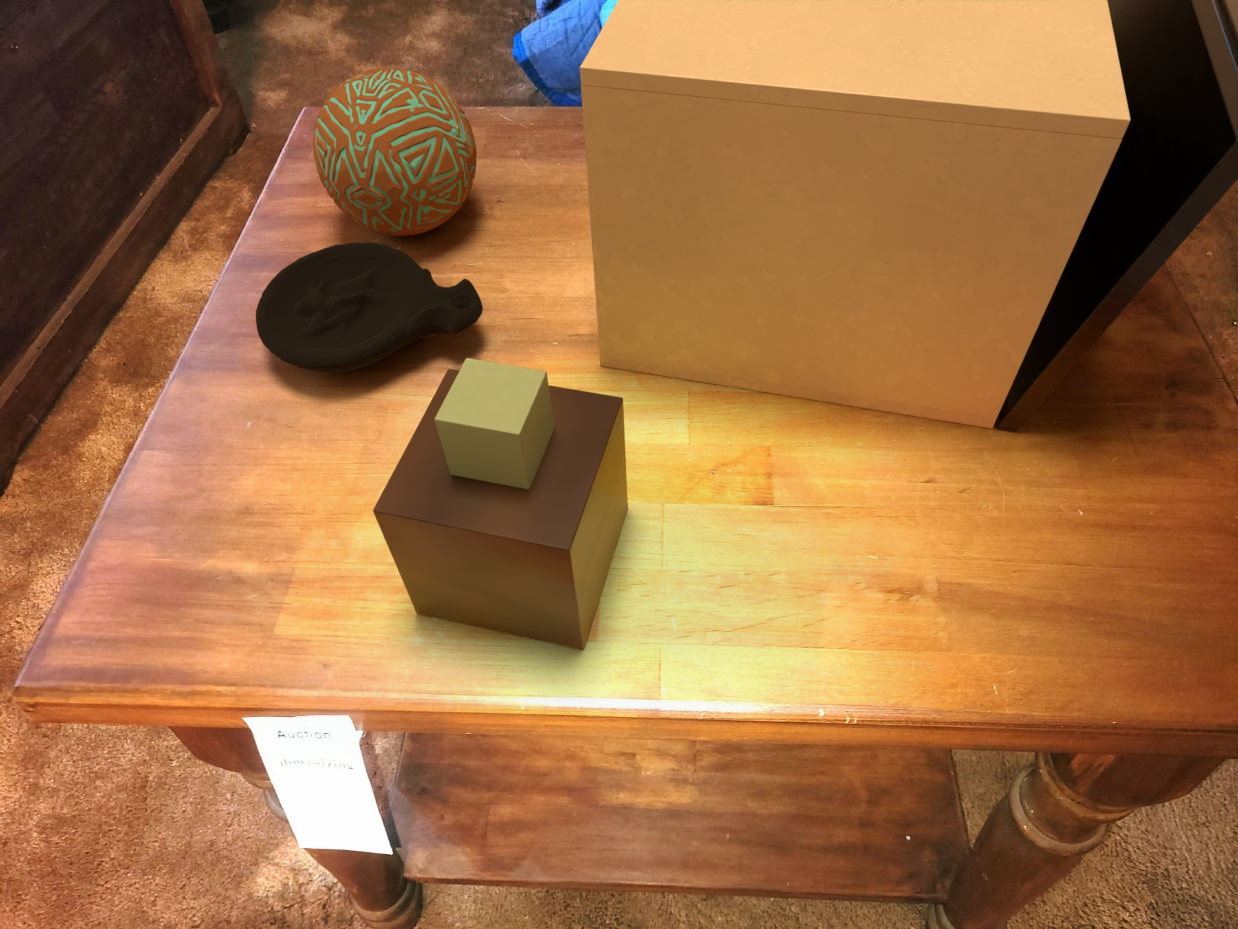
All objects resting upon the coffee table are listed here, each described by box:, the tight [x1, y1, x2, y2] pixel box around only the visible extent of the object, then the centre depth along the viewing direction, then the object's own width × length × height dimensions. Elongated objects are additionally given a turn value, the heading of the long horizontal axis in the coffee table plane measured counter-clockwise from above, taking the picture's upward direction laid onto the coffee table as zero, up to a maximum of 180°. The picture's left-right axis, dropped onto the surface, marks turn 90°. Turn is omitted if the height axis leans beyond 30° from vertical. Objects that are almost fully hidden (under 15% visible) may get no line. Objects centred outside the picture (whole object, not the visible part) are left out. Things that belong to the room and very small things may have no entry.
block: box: [435, 357, 554, 490], centre depth 51 cm, size 5×5×5 cm
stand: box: [372, 368, 629, 651], centre depth 58 cm, size 12×12×12 cm
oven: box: [579, 0, 1131, 429], centre depth 74 cm, size 32×40×26 cm
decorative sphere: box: [312, 66, 478, 236], centre depth 83 cm, size 15×15×15 cm
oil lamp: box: [255, 241, 484, 374], centre depth 76 cm, size 15×20×5 cm
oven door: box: [996, 0, 1238, 433], centre depth 70 cm, size 8×40×26 cm, turn 166°
